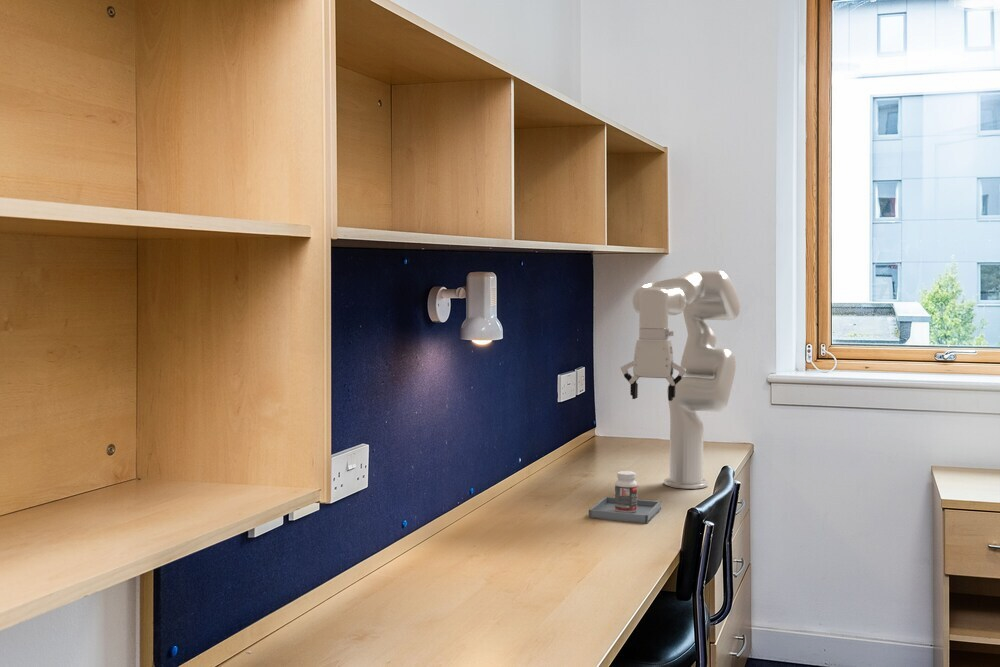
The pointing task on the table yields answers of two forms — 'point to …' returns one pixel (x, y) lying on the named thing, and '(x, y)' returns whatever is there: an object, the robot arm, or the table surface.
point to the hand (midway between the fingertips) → (652, 399)
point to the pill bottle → (626, 492)
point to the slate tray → (608, 512)
